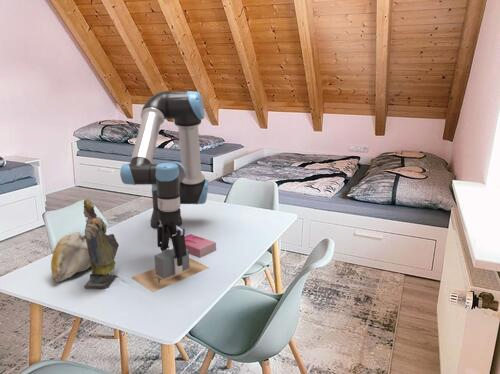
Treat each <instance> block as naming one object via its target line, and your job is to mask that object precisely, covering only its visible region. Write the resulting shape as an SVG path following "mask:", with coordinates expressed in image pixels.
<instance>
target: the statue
mask: <svg viewBox="0 0 500 374" xmlns="http://www.w3.org/2000/svg"><path fill="white" fill-rule="evenodd" d="M83 215H84V217H85V224H86V225H85V228H84V235H81V236H82V237H80V239H81V240H82V241H83V240H84V239H86V243H87V248H88V253H89V256H90V260H91V266H90V267H91V273H90V274H89V280H88V281H87V283H86V284H85V285H84V289H87V290H89V289H90V290H91V289H93V290H94V289H95V290H97V289H98V290H100V289H101V290H102V289H105V290H106V289H108V288H109V287H110V286H111V285H112V283H113V282H114V281H115V280H116V278H117V274H113V273H112V274H111V272H112V271H113V270H114V269H115V267H116V266H115V265H116V262H115V259H116V256H117V254H118V253H117V252H118V249H119V246H120V245H119V242H118V241H117V238H116V237H115V234H114V233H110V234H107V224H106V223H105V222H104V220H103V218H101V216H97V215H98V214H97V213H96V212H95V204H94V203H93V202H92V200H90V199H89V198H85V199H84V200H83Z"/></svg>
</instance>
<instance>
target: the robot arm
mask: <svg viewBox="0 0 500 374" xmlns="http://www.w3.org/2000/svg"><path fill="white" fill-rule="evenodd" d="M140 119H141V121H140V125H139V129H138V133H137V136H136V140H135V144H134V147H133V150H132V154H131V157H130V158H131V159H130V161H129V163H123V164H122V165H121V167H120V180H121V182H122V184H124V185H130V186H131V185H132V186H133V185H134V186H137V185H138V186H139V185H141V186H143V185H144V186H145V185H151V197H152V214H151V217H150V227H151V228H152V229H156V230H157V231H156V233H157V240H156V244H157V247H158V248H159V249H160V251H161V253H162V252H165V251H168V250H170V249H169V248H170V246H169V244H170V240H171V243H172V247H173V248H174V252H175V257H174V266H175V275H178V274H180V273H182V264H183V263H182V257H184V256H186V245H185V236H186V235H185V233H186V229H185V228H181V226H182V225H183V219H182V215H181V212H182V211H181V205H203V204H205V203H206V202H207V198H208V192H209V179H206V177H205V175H204V174H203V173H202V168H201V167H202V165H201V162H202V161H201V152H200V136H199V134H200V133H199V126H200V125H201V124H202V120H204V119H205V105H204V101H203V97H202V95H201V94H200V92H199V91H194V90H193V91H192V90H191V91H190V90H174V91H173V90H163V91H160V92H157V93H155V94H153V95H152V96H151V97H149V98H148V100H147V101H145V103H144V105H143V106H142V109H141V111H140ZM165 120H173V122H174V125H175V126H176V127H177V128H178V139H179V150H180V159H181V160H180V161H181V162H178V161H172V162H162V163H153V158H154V155H155V149H156V146H157V141H158V137H159V134H160V133H159V132H160V130H161V129H160V128H161V125H162V124H164V122H165ZM173 248H172V249H173Z"/></svg>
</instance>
